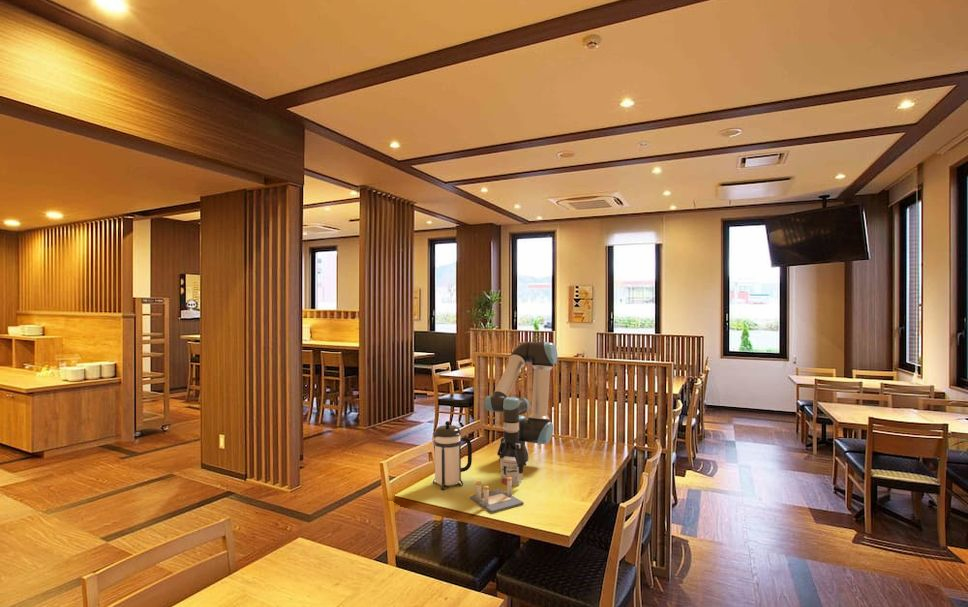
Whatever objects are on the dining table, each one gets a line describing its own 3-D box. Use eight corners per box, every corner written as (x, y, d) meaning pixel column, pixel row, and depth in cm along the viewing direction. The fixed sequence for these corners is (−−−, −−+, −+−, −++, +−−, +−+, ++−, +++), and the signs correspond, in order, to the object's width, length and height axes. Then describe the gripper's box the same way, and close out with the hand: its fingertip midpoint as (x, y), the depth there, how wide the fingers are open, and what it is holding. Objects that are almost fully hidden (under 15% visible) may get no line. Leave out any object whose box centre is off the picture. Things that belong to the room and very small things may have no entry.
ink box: (501, 484, 231) (501, 459, 231) (504, 480, 235) (504, 455, 235) (519, 486, 228) (518, 460, 228) (521, 482, 233) (521, 457, 233)
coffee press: (458, 492, 220) (457, 426, 220) (426, 488, 226) (426, 423, 226) (472, 479, 237) (472, 417, 237) (442, 475, 242) (442, 415, 242)
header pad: (469, 498, 214) (469, 478, 214) (500, 490, 222) (499, 471, 222) (491, 513, 198) (491, 491, 198) (523, 504, 207) (523, 483, 207)
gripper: (490, 426, 240) (490, 469, 240) (520, 437, 219) (520, 485, 219) (502, 424, 244) (502, 466, 244) (533, 435, 223) (533, 481, 223)
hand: (511, 475), depth 232 cm, fingers open, 13 cm apart
